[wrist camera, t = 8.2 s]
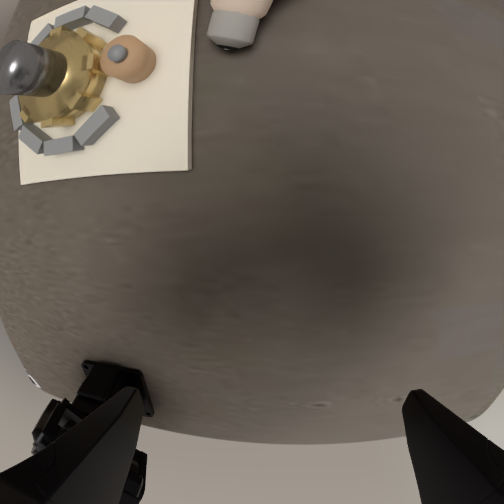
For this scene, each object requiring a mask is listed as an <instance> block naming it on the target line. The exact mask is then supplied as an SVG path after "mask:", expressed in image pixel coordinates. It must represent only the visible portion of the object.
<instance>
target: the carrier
mask: <svg viewBox="0 0 504 504" xmlns="http://www.w3.org/2000/svg"><path fill="white" fill-rule="evenodd" d="M197 6H198V0H78V1H75V2H73V3H70V4H68V5H66V6H63V7H61V8H59V9H56V10H54V11H52V12H50V13H48V14H46V15H44V16H42V17H40V18H38V19H36V20H34V21H32V23H31V27H30V31H29V36H28V41H27V42H28V43H31V44H35V45H39V44H40V43H41V42H42V41H43V40H44V39H46V38H47V37H49V35H50V30H53V29H55V28H57V27H60V26H64V27H66V28H69V29H71V30H73V31H75V32H76V30H77V29H78V28H79V27H82V28H84V29H86V30H88V31H89V32H91V33H93V34H95V35H97V36H99V37H100V38H102V39H103V40H104V41H105V42H106V43H107V45H106V46H105V47H104V48H103V49H104V50H103V52H102V54H101V58H100V65H101V69H102V70H103V72H104V73H105V74H107V75H109V77H107V78H106V82H105V85H104V88H103V90H102V92H101V94H100V97H101V98H102V99H103V101H102V102H101V103H100V104H99V106H98V107H97V108H96V110H95V111H94V112H90V111H87V112H85V113H84V114H83V115H81V116H80V117H78V118H76V119H75V125H73V126H69V127H58V128H41V123H25V122H24V121H23V119H22V118H21V117H20V115H19V114H20V112H21V110H22V108H21V105H20V102H19V96H18V95H15V96H14V97H13V98H12V99H11V100H10V101H9V103H10V109H11V115H12V121H13V127H14V131H19V136H18V138H19V163H20V179H21V185H24V184H30V183H37V182H44V181H52V180H60V179H68V178H77V177H87V176H97V175H109V174H122V173H138V172H157V171H186V170H191V169H192V93H193V67H194V48H195V32H196V18H197Z"/></svg>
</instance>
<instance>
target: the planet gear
mask: <svg viewBox="0 0 504 504" xmlns="http://www.w3.org/2000/svg"><path fill="white" fill-rule="evenodd" d="M106 45H107V43H106V42H105V41H104V40H103V39H102V38H100V37H99V36H97V35H95V34H93V33H91V32H89V31H88V30H86V29H84V28H82V27H79V28H78V29H77V30H76V32H75V31H73V30H71V29H69V28H66V27H64V26H60V27H57V28H55V29H53V30H50V35H49V37H47V38H46V39H44V40H43V41H42V42H41V43H40V44H39V45H35V44H31V43H28V42H24V41H20V40H13V41H11V42H9V43H8V44H7V45H5V46H4V47H3V49H2V50H1V51H0V94H3V95H18V96H19V102H20V105H21V108H22V110H21V112H20V114H19V115H20V117H21V118H22V119H23V121H24V122H25V123H41V128H58V127H69V126H73V125H75V119H76V118H78V117H80V116H81V115H83V114H84V113H85V112H87V111H90V112H94V111H95V110H96V108H97V107H98V106H99V104H100V103H101V102H102V101H103V99H102V98H101V97H100V94H101V92H102V90H103V88H104V85H105V82H106V78H107V77H109V75H107V74H105V73H104V72H103V70H102V69H101V65H100V58H101V54H102V52H103V50H104V49H103V48H104V47H105V46H106Z"/></svg>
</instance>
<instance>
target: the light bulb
mask: <svg viewBox="0 0 504 504" xmlns="http://www.w3.org/2000/svg"><path fill="white" fill-rule="evenodd" d="M272 2H273V0H211V2H210V5H211V6H212V8H213V10H214V12H213V13H212V16H211V20H210V23H209V27H208V31H207V37H209V38H210V39H211V40H212V41H213V42H215V43H216V44H217V46H219V47H222V48H224V49H225V50H236V49H238V48H242V47H245V46H248V45H252V44H253V42H254V38H255V35H256V31H257V28H258V25H259V19H260V18H262V17H264V16H265V15H266V14H267V12H268V10H269V8H270V6H271V4H272Z"/></svg>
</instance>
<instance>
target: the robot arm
mask: <svg viewBox="0 0 504 504" xmlns="http://www.w3.org/2000/svg"><path fill="white" fill-rule="evenodd" d="M82 368H83V370H84V372H85V375H86V378H85V380H84V382H83V383H82V385H81V386H80V388H79V390H78V391H77V396H76V398H75V399H74V401H73V403H72V404H70V403H69V401H68V400H67V399H66V398H64V399H63V400H62V401H61V402H60V401H57V400H55V399H52V400H51V401H50V403H49V404H48V406H47V407H46V409H45V411H44V412H43V414H42V415H41V417H40V419H39V421H38V422H37V424H36V426H35V428H34V430H33V431H32V435H33V439H34V442H33V445H34V446H33V449H32V451H31V453H32V454H33V456H31V457H29V458H28V459H26V460H24V461H22V462H20V463H18V464H17V465H15V466H13V467H11V468H9V469H7V470H5V471H3V472H1V473H0V504H139V502H140V500H141V499H142V497H143V494H144V491H145V480H146V465H147V454H146V453H144V452H142V451H139V450H137V449H136V446H137V441H138V435H139V430H140V426H141V421H142V416H147V417H152V416H153V414H154V411H153V408H152V405H151V402H150V399H149V395H148V392H147V389H146V386H145V382H144V379H143V375H142V373H141V372H139V371H137V370H131V369H126V368H120V367H115V366H109V365H104V364H99V363H95V362H90V361H84V362H83V363H82ZM136 375H137V376H136ZM402 414H403V419H404V425H405V431H406V438H407V444H408V448H409V453H410V456H411V460H412V464H413V468H414V472H415V476H416V480H417V485H418V489H419V493H420V498H421V503H422V504H504V450H503V449H501V448H500V447H498V446H497V445H496V444H494V443H493V442H492V441H490V440H488V439H487V438H486V437H485V436H483V435H482V434H481V433H479V432H478V431H477V430H475V429H474V428H473V427H471V426H470V425H469V424H467V423H466V422H465V421H463V420H462V419H461V418H459V417H458V416H457V415H455V414H454V413H453V412H452V411H450V410H449V409H448V408H446V407H445V406H444V405H442V404H441V403H440V402H438V401H437V400H436V399H434V398H433V397H432V396H430V395H429V394H428V393H426V392H425V391H424V390H422V389H417V390H412V391H410V393H409V394H408V396H407V398H406V400H405V402H404V404H403V407H402ZM58 424H59V425H58Z"/></svg>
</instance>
